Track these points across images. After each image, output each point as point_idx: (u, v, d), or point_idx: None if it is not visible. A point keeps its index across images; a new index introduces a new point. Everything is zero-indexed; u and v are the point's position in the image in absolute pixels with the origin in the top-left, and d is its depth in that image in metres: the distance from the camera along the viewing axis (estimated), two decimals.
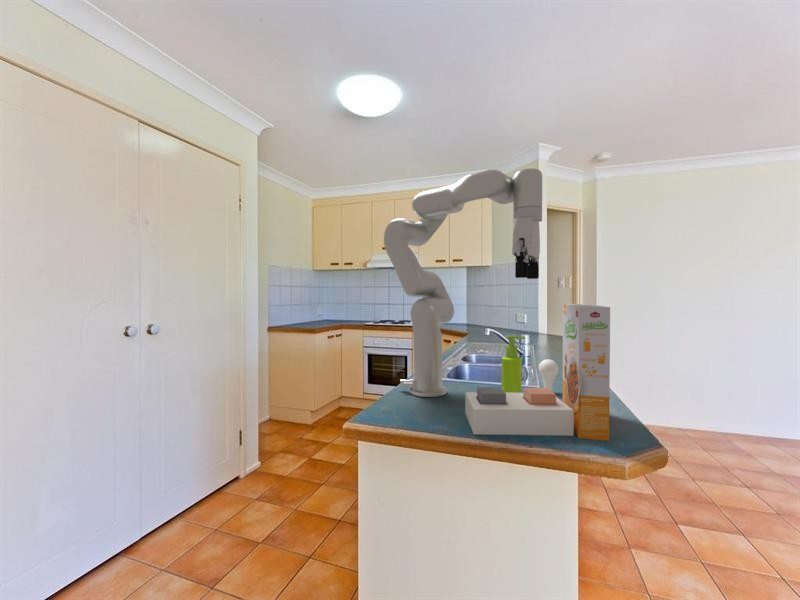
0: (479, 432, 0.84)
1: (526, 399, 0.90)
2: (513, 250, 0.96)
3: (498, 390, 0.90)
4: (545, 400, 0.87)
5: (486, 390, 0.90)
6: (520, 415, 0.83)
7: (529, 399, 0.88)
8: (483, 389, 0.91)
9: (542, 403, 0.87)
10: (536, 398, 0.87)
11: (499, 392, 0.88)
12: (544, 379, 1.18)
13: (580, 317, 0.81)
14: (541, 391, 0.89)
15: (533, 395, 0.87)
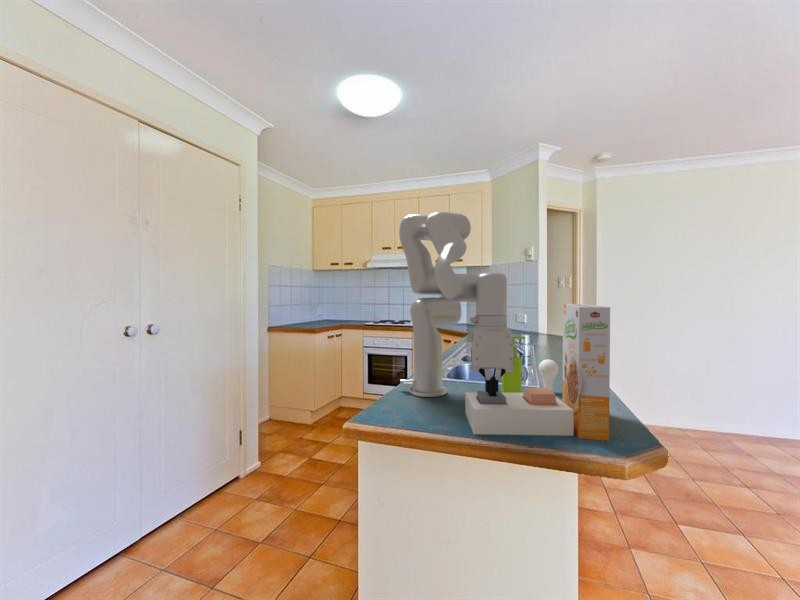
0: (479, 432, 0.84)
1: (526, 399, 0.90)
2: (513, 362, 0.88)
3: (498, 394, 0.90)
4: (545, 400, 0.87)
5: (486, 394, 0.91)
6: (520, 415, 0.83)
7: (529, 399, 0.88)
8: (483, 393, 0.91)
9: (542, 403, 0.87)
10: (536, 398, 0.87)
11: (499, 396, 0.88)
12: (544, 379, 1.18)
13: (580, 317, 0.81)
14: (541, 391, 0.89)
15: (533, 395, 0.87)
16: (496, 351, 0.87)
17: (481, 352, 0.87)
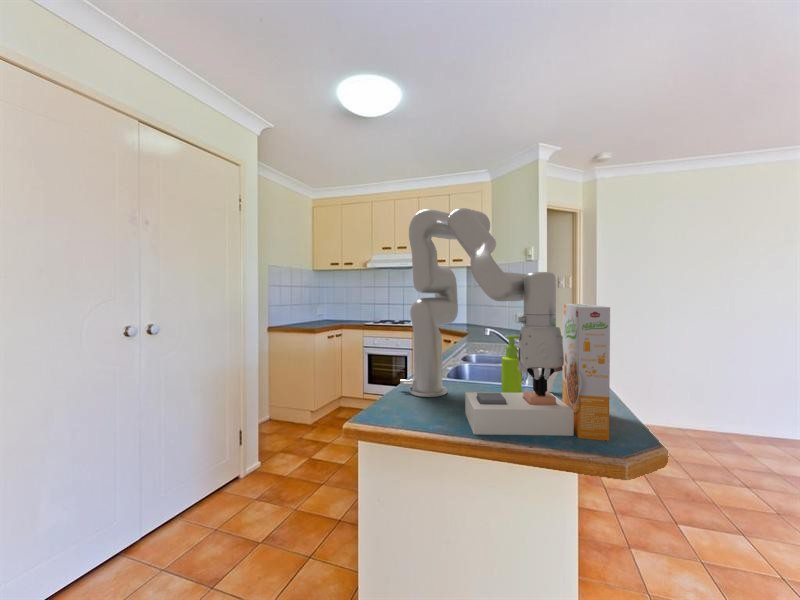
0: (479, 432, 0.84)
1: None
2: None
3: (498, 396, 0.90)
4: (545, 404, 0.87)
5: (486, 396, 0.91)
6: (520, 415, 0.83)
7: (529, 402, 0.88)
8: (483, 395, 0.91)
9: None
10: (536, 402, 0.87)
11: (499, 398, 0.88)
12: None
13: (580, 317, 0.81)
14: None
15: (533, 398, 0.87)
16: (546, 350, 0.87)
17: (531, 351, 0.87)
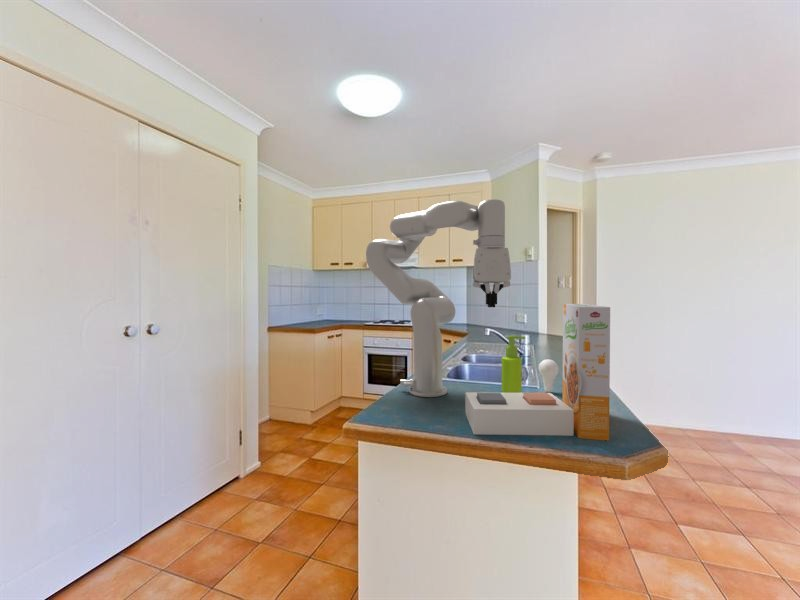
0: (479, 432, 0.84)
1: None
2: (510, 277, 1.01)
3: (498, 396, 0.90)
4: None
5: (486, 396, 0.91)
6: (520, 415, 0.83)
7: None
8: (483, 395, 0.91)
9: None
10: (536, 404, 0.87)
11: (499, 398, 0.88)
12: (544, 379, 1.18)
13: (580, 317, 0.81)
14: (541, 396, 0.89)
15: (533, 401, 0.87)
16: (495, 267, 1.01)
17: (482, 268, 1.01)
